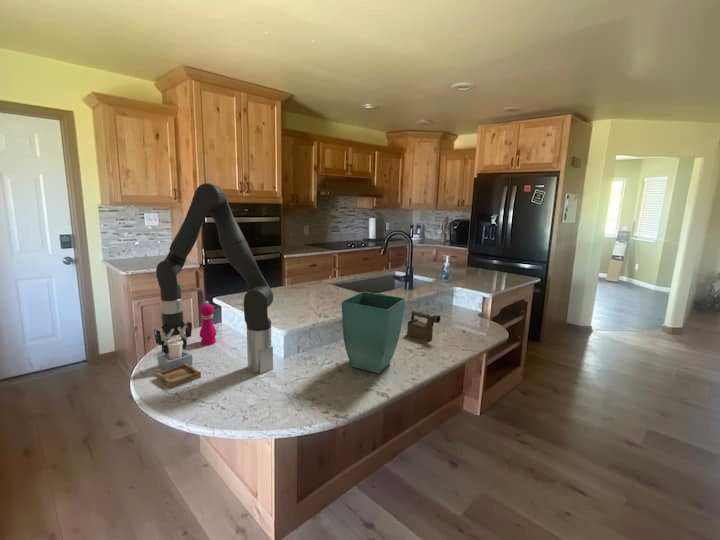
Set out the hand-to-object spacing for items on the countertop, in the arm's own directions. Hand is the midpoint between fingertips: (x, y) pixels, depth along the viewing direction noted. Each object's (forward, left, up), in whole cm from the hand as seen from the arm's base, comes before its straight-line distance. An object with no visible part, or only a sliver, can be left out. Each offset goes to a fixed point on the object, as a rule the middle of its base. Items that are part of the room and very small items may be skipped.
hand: (174, 350), depth 148 cm
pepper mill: (+12, -21, -7) cm, 25 cm away
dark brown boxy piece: (-57, -97, -7) cm, 113 cm away
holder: (0, 0, -6) cm, 6 cm away
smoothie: (0, 0, -6) cm, 6 cm away
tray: (-11, +4, -6) cm, 13 cm away
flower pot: (-57, -54, -7) cm, 79 cm away
